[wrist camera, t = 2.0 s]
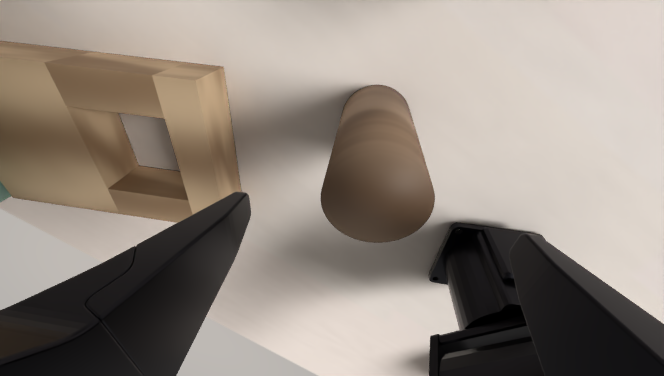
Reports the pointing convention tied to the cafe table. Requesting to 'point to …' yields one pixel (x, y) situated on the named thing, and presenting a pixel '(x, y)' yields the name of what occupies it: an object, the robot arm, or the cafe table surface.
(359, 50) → the cafe table surface
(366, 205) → the walnut peg
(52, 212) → the cafe table surface
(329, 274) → the cafe table surface
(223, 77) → the socket block
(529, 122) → the cafe table surface
